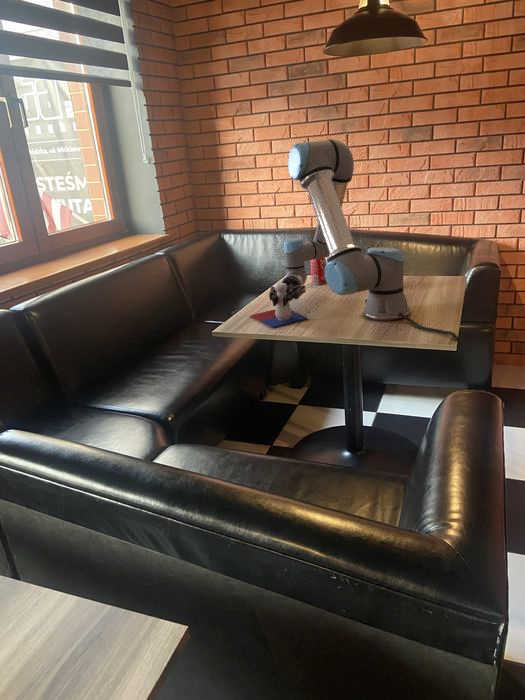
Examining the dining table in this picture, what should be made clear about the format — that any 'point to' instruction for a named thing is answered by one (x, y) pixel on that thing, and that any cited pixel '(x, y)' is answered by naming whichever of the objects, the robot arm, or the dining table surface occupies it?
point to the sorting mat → (272, 321)
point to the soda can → (318, 271)
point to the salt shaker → (282, 311)
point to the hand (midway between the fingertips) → (279, 302)
